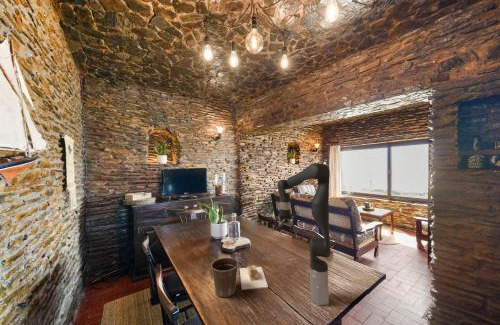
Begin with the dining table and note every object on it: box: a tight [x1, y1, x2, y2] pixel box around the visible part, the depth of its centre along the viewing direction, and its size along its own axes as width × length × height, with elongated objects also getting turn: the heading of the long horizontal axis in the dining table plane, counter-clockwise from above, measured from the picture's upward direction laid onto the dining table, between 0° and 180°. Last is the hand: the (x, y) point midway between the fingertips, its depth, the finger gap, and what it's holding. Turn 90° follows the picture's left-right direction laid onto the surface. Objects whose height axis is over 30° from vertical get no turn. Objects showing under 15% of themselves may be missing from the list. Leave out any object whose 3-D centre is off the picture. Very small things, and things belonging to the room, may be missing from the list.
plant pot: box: [210, 257, 239, 298], centre depth 116 cm, size 16×16×16 cm
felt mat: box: [239, 266, 269, 291], centre depth 130 cm, size 24×16×1 cm, turn 6°
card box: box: [247, 264, 258, 281], centre depth 130 cm, size 5×9×5 cm, turn 13°
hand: (285, 231), depth 137 cm, fingers open, 8 cm apart
